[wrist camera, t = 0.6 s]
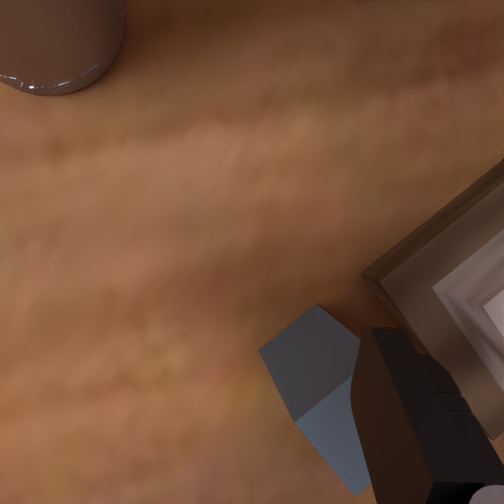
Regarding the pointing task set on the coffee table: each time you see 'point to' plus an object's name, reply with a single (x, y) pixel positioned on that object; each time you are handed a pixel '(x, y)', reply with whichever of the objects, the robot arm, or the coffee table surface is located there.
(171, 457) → the coffee table surface
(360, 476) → the slate brick
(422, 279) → the tower base
